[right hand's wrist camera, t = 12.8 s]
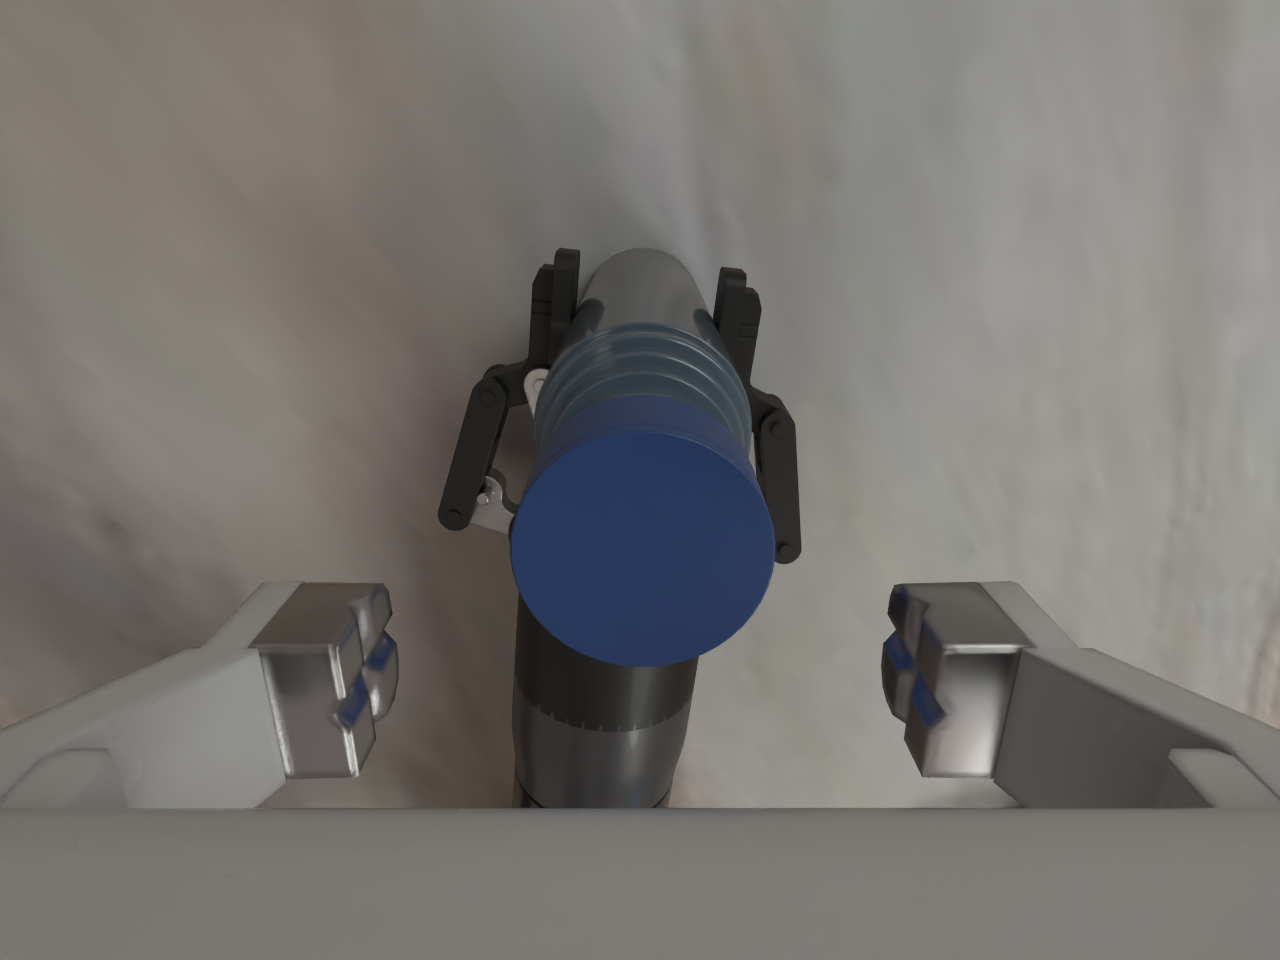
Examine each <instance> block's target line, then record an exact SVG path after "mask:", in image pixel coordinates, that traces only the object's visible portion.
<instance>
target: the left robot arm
mask: <svg viewBox="0 0 1280 960" xmlns="http://www.w3.org/2000/svg"><path fill="white" fill-rule="evenodd" d="M579 265H580V250H574V249H565V248H559V249H558V250H557V251H556V253H555V259H554V265H550V264H544V265H543V266H542V267H541V268H540V269H539V271H538V273H537V275H536V277H535V280H534V282H533V286H532V305H531V323H530V342H529V355H528V358H527V359H525V360H524V361H522V362H519V363H515V364H511V365H502V364H496V365H493V366H491V367H490V368H489V369H488V370H487V371H486V372H485V374H484V376H483V378H482V380H480V381H479V382H478V383H477V384H476V385H475V387H474V388H473V390H472V393H471V396H470V400H469V404H468V407H467V411H466V414H465V418H464V421H463V425H462V429H461V432H460V436H459V439H458V443H457V446H456V450H455V454H454V457H453V461H452V464H451V468H450V471H449V475H448V478H447V482H446V486H445V489H444V493H443V496H442V500H441V503H440V507H439V511H438V518H439V521H440V523H441V524H442V525H443V526H444V527H446V528H447V529H450V530H454V531H458V530H462V529H464V528H466V527H467V526H468V524H469V523H472V524H475V525H478V526H481V527H484V528H488V529H491V530H494V531H497V532H500V533H504V534H507V535H508V536H509V541H510V538H511V532H512V526H513V521H514V518H515V515H516V512H517V509H518V506H519V505H517V504H515V503H513V502H512V501H510V499H509V498H508V497H507V494H506V479H505V477H504V475H503V474H502V473H501V472H500V471H498V470H496V469H494V468H491V466H492V463H493V460H494V457H495V453H496V450H497V447H498V443H499V440H500V437H501V433H502V430H503V427H504V423H505V420H506V417H507V413H508V410H509V408H510V407H514V406H518V405H522V404H526V403H529V406H530V409H531V412H532V415H533V418H534V413H535V407H536V402H537V398H538V395H539V392H540V389H541V387H542V385H543V383H544V380H545V378H546V376H547V374H548V372H549V370H550V367H551V365H552V363H553V361H554V359H555V357H556V355H557V352H558V350H559V348H560V346H561V344H562V342H563V339H564V337H565V335H566V333H567V331H568V329H569V327H570V324H571V322H572V320H573V318H574V316H575V314H576V305H577V292H578V278H579ZM760 316H761V305H760V300H759V296H758V293H757V292H756V291H755V290H754V289H753V288H748V287H746V273H745V272H744V271H743V270H742V269H736V268H727V267H721V270H720V274H719V280H718V287H717V294H716V301H715V308H714V315H713V322H714V324H715V326H716V328H717V330H718V332H719V335H720V337H721V339H722V341H723V343H724V345H725V347H726V350H727V352H728V354H729V356H730V358H731V360H732V362H733V365H734V367H735V369H736V371H737V373H738V375H739V378H740V380H741V382H742V384H743V387H744V389H745V391H746V394H747V398H748V401H749V405H750V411H751V419H752V432H753V435H754V449H755V463H756V476H757V481H758V484H759V486H760V489H761V492H762V494H763V497H764V500H765V503H766V505H767V508H768V511H769V514H770V518H771V521H772V524H773V529H774V537H775V562H777V563H781V564H788V563H791V562H793V561H795V560H796V559H797V558H798V557H799V555H800V553H801V533H800V513H799V493H798V473H797V453H796V433H795V424H794V421H793V419H792V418H791V416H790V414H789V413H788V411H787V409H786V408H785V406H784V404H783V403H782V401H781V400H780V398H778V397H777V396H775V395H773V394H766V393H764V392H762V391H760V390H758V389H756V388H754V387H753V386H752V385H751V384H750V375H751V369H752V363H753V357H754V352H755V346H756V338H757V334H758V326H759V322H760ZM519 504H520V503H519ZM698 658H699V656H697V657H694V658H692V659H689V660H686V661H682V662H678V663H674V664H669V665H662V666H653V667H633V666H622V665H617V664H611V663H607V662H603V661H600V660H597V659H593V658H591V657H589V656H586V655H584V654H582V653H579V652H577V651H575V650H574V649H572V648H570V647H568V646H567V645H565V644H564V643H562V642H561V641H559V640H558V639H557V638H555V637H554V636H553V635H552V634H550V633H549V632H548V631H547V630H546V629H545V628H544V627H543V626H542V625H541V624H540V623H539V622H538V620H537V619H536V618H535V617H534V615H533V614H532V613H531V612H530V610H529V608H528V607H527V605H526V603H525V602H524V600H523V598H522V596H521V594H520V592H519V598H518V616H517V633H516V651H515V668H514V687H513V704H512V731H513V741H514V748H515V771H514V787H513V805H512V808H668V806H669V800H670V793H671V787H672V781H673V775H674V771H675V767H676V764H677V762H678V759H679V756H680V753H681V750H682V747H683V744H684V740H685V735H686V730H687V724H688V718H689V713H690V707H691V701H692V695H693V689H694V682H695V676H696V670H697V664H698Z"/></svg>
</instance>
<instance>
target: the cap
mask: <svg viewBox="0 0 1280 960" xmlns="http://www.w3.org/2000/svg"><path fill="white" fill-rule="evenodd" d="M510 557H511V565H512V571H513V575H514V578H515V582H516V585H517V587H518V589H519V592H520V594H521V596H522V598H523V600H524V602H525V603H526V605H527V607H528V608H529V610H530V612H531V613H532V614H533V615H534V617H535V618H536V619H537V620H538V622H539V623H540V624H541V625H542V626H543V627H544V628H545V629H546V630H547V631H548V632H549V633H550V634H552V635H553V636H554V637H555V638H557V639H558V640H559V641H561V642H562V643H564V644H565V645H567V646H568V647H570V648H572V649H574V650H575V651H577V652H579V653H582V654H584V655H586V656H589V657H591V658H593V659H597V660H600V661H603V662H607V663H611V664H617V665H622V666H633V667H653V666H662V665H669V664H674V663H678V662H682V661H686V660H689V659H692V658H694V657H697V656H699V655H702V654H704V653H706V652H708V651H710V650H712V649H713V648H715V647H717V646H719V645H720V644H722V643H723V642H724V641H726V640H727V639H729V638H730V637H731V636H732V635H734V634H735V633H736V632H737V631H738V630H739V629H740V628H741V627H742V626H743V625H744V624H745V623H746V622H747V621H748V620H749V618H750V617H751V616H752V615H753V613H754V612H755V610H756V609H757V607H758V606H759V604H760V603H761V601H762V599H763V597H764V595H765V593H766V590H767V588H768V586H769V582H770V579H771V576H772V573H773V567H774V561H775V537H774V529H773V524H772V521H771V518H770V514H769V511H768V508H767V505H766V503H765V500H764V497H763V494H762V492H761V489H760V486H759V484H758V481H757V478H756V476H755V473H754V470H753V467H752V465H751V463H750V461H749V458H748V456H747V454H746V452H745V451H744V449H743V448H742V446H741V444H740V443H739V441H738V440H737V439H736V438H735V437H734V435H733V434H732V433H731V432H730V431H729V430H728V429H727V428H726V427H725V426H724V425H723V424H722V423H721V422H719V421H718V420H717V419H716V418H714V417H713V416H711V415H710V414H708V413H707V412H705V411H703V410H701V409H699V408H697V407H695V406H693V405H691V404H689V403H686V402H683V401H680V400H677V399H673V398H669V397H664V396H657V395H628V396H622V397H616V398H612V399H608V400H605V401H602V402H599V403H596V404H594V405H592V406H590V407H588V408H585V409H583V410H582V411H580V412H579V413H577V414H575V415H574V416H572V417H571V418H569V419H568V420H567V421H566V422H565V423H564V424H562V425H561V426H560V427H559V428H558V429H557V430H556V431H555V432H554V433H553V434H552V436H551V437H550V438H549V439H548V440H547V442H546V443H545V445H544V446H543V448H542V449H541V451H540V453H539V455H538V457H537V459H536V461H535V463H534V465H533V468H532V471H531V474H530V476H529V479H528V482H527V485H526V487H525V490H524V493H523V495H522V498H521V501H520V504H519V506H518V509H517V512H516V515H515V518H514V521H513V526H512V532H511V538H510Z"/></svg>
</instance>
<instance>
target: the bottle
mask: <svg viewBox="0 0 1280 960" xmlns="http://www.w3.org/2000/svg"><path fill="white" fill-rule="evenodd" d="M628 395H657V396H664V397H669V398H673V399H677V400H680V401H683V402H686V403H689V404H691V405H693V406H695V407H697V408H699V409H701V410H703V411H705V412H707V413H708V414H710V415H711V416H713V417H714V418H716V419H717V420H718V421H719V422H721V423H722V424H723V425H724V426H725V427H726V428H727V429H728V430H729V431H730V432H731V433H732V434H733V435H734V437H735V438H736V439H737V440H738V441H739V443H740V444H741V446H742V448H743V449H744V451H745V452H746V454H747V456H748V457H749V451H750V444H751V433H752V419H751V411H750V405H749V401H748V398H747V394H746V391H745V389H744V387H743V384H742V382H741V380H740V378H739V375H738V373H737V371H736V369H735V367H734V365H733V362H732V360H731V358H730V356H729V354H728V352H727V350H726V347H725V345H724V343H723V341H722V339H721V337H720V335H719V332H718V330H717V328H716V326H715V324H714V322H713V320H712V317H711V315H710V313H709V311H708V309H707V307H706V305H705V302H704V300H703V298H702V296H701V294H700V292H699V289H698V287H697V285H696V283H695V281H694V279H693V277H692V276H691V274H690V272H689V271H688V270H687V269H686V267H685V266H684V265H683V264H682V263H681V262H680V261H678V260H677V259H675V258H674V257H673V256H671V255H669V254H667V253H665V252H662V251H659V250H655V249H650V248H635V249H630V250H626V251H623V252H620V253H618V254H616V255H614V256H613V257H611V258H610V259H608V260H607V261H606V262H605V263H604V264H602V265H601V266H600V268H599V269H598V270H597V271H596V273H595V274H594V276H593V277H592V279H591V281H590V283H589V286H588V288H587V290H586V292H585V294H584V296H583V299H582V301H581V303H580V305H579V307H578V309H577V311H576V314H575V316H574V318H573V320H572V322H571V324H570V327H569V329H568V331H567V333H566V335H565V337H564V339H563V342H562V344H561V346H560V348H559V350H558V352H557V355H556V357H555V359H554V361H553V363H552V365H551V367H550V370H549V372H548V374H547V376H546V378H545V380H544V383H543V385H542V387H541V389H540V392H539V395H538V398H537V402H536V407H535V413H534V440H535V450H536V455H537V457H538V455H539V453H540V451H541V449H542V448H543V446H544V445H545V443H546V442H547V440H548V439H549V438H550V437H551V436H552V434H553V433H554V432H555V431H556V430H557V429H558V428H559V427H560V426H561V425H562V424H564V423H565V422H566V421H567V420H568V419H569V418H571V417H572V416H574V415H575V414H577V413H579V412H580V411H582V410H583V409H585V408H588V407H590V406H592V405H594V404H596V403H599V402H602V401H605V400H608V399H612V398H616V397H622V396H628Z"/></svg>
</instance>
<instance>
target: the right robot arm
mask: <svg viewBox="0 0 1280 960" xmlns="http://www.w3.org/2000/svg"><path fill="white" fill-rule="evenodd" d="M391 616H392V608H391V602H390V596H389V591H388V590H387V588H386V587H385V586H384V584H383V583H333V582H307V583H306V582H304V581H292V582H268V583H262V584H261V585H260V586H259V587H258V588H257V589H256V590H255V591H254V592H253V593H252V594H251V595H250V597H249V598H248V599H247V600H246V601H245V602H244V603H243V604H242V605H241V606H240V607H239V608H238V609H237V610H236V611H235V612H234V613H233V614H232V616H231V617H230V618H229V619H228V620H227V621H226V622H225V623H224V624H223V625H222V626H221V627H220V628H219V629H218V630H217V631H216V632H215V633H214V635H213V636H212V637H211V638H210V639H209V640H208V641H207V642H206V643H205V644H204V645H203V646H202V647H201V648H187V649H185V650H182V651H180V652H178V653H176V654H173V655H171V656H169V657H166V658H164V659H162V660H159V661H157V662H155V663H152V664H150V665H148V666H146V667H143V668H141V669H139V670H136V671H134V672H132V673H129V674H127V675H125V676H123V677H120V678H118V679H116V680H113V681H111V682H109V683H106V684H104V685H102V686H99V687H97V688H95V689H93V690H90V691H88V692H86V693H83V694H81V695H79V696H76V697H74V698H72V699H69V700H67V701H65V702H63V703H60V704H58V705H56V706H53V707H51V708H49V709H46V710H44V711H42V712H39V713H37V714H35V715H33V716H30V717H28V718H26V719H23V720H21V721H19V722H16V723H14V724H12V725H9V726H7V727H5V728H3V729H0V960H1280V730H1279V729H1277V728H1275V727H1272V726H1270V725H1268V724H1265V723H1263V722H1261V721H1258V720H1256V719H1254V718H1252V717H1249V716H1247V715H1245V714H1242V713H1240V712H1238V711H1236V710H1233V709H1231V708H1229V707H1226V706H1224V705H1222V704H1219V703H1217V702H1215V701H1213V700H1210V699H1208V698H1206V697H1203V696H1201V695H1199V694H1196V693H1194V692H1192V691H1190V690H1187V689H1185V688H1183V687H1180V686H1178V685H1176V684H1173V683H1171V682H1169V681H1167V680H1164V679H1162V678H1160V677H1157V676H1155V675H1153V674H1150V673H1148V672H1146V671H1144V670H1141V669H1139V668H1137V667H1134V666H1132V665H1130V664H1127V663H1125V662H1123V661H1121V660H1118V659H1116V658H1114V657H1111V656H1109V655H1107V654H1104V653H1102V652H1100V651H1098V650H1095V649H1093V648H1079V647H1078V646H1077V645H1076V644H1075V643H1074V642H1073V641H1072V640H1071V639H1070V638H1069V637H1068V635H1067V634H1066V633H1065V632H1064V631H1063V630H1062V629H1061V628H1060V627H1059V626H1058V625H1057V624H1056V623H1055V622H1054V621H1053V620H1052V619H1051V618H1050V616H1049V615H1048V614H1047V613H1046V612H1045V611H1044V610H1043V609H1042V608H1041V607H1040V606H1039V605H1038V604H1037V603H1036V602H1035V601H1034V600H1033V599H1032V597H1031V596H1030V595H1029V594H1028V593H1027V592H1026V591H1025V590H1024V589H1023V588H1022V587H1021V586H1020V585H1019V584H1017V583H1014V582H1011V581H999V582H951V583H909V584H898V585H894V588H893V590H892V593H891V596H890V600H889V607H888V616H889V617H890V619H891V621H892V623H893V625H894V627H895V628H896V631H895V632H894V633H893V634H892V635H891V636H890V637H889V638H888V639H887V640H886V641H885V642H884V643H883V653H882V663H881V670H882V684H883V690H884V694H885V697H886V701H887V704H888V706H889V708H890V710H891V712H892V715H894V716H895V717H897V718H898V719H900V720H901V721H903V722H904V723H906V728H905V735H904V740H905V742H906V744H907V746H908V748H909V751H910V753H911V755H912V757H913V759H914V761H915V763H916V765H917V767H918V769H919V771H920V773H921V775H922V777H937V778H974V779H994V783H995V784H997V785H998V786H999V787H1000V788H1001V789H1003V790H1004V791H1005V792H1006V793H1008V794H1009V795H1010V796H1011V797H1013V798H1014V799H1015V800H1016V801H1018V802H1019V803H1020V804H1021V805H1023V806H1024V807H1025V808H255V807H256V806H258V805H259V804H260V803H261V802H263V801H264V800H265V799H266V798H268V797H269V796H270V795H271V794H273V793H274V792H275V791H276V790H278V789H279V788H280V787H281V786H283V785H284V784H285V783H286V779H305V778H341V777H358V776H359V774H360V771H361V769H362V767H363V765H364V763H365V761H366V759H367V757H368V755H369V753H370V751H371V748H372V746H373V744H374V742H375V740H376V735H375V728H374V723H376V722H377V721H379V720H380V719H382V718H383V717H385V716H386V715H388V712H389V710H390V708H391V706H392V703H393V701H394V698H395V693H396V688H397V683H398V665H399V659H398V651H397V643H396V642H395V641H394V640H393V639H392V638H391V637H390V636H389V635H388V634H387V633H386V632H385V631H384V628H385V627H386V625H387V623H388V621H389V619H390V617H391Z"/></svg>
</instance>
